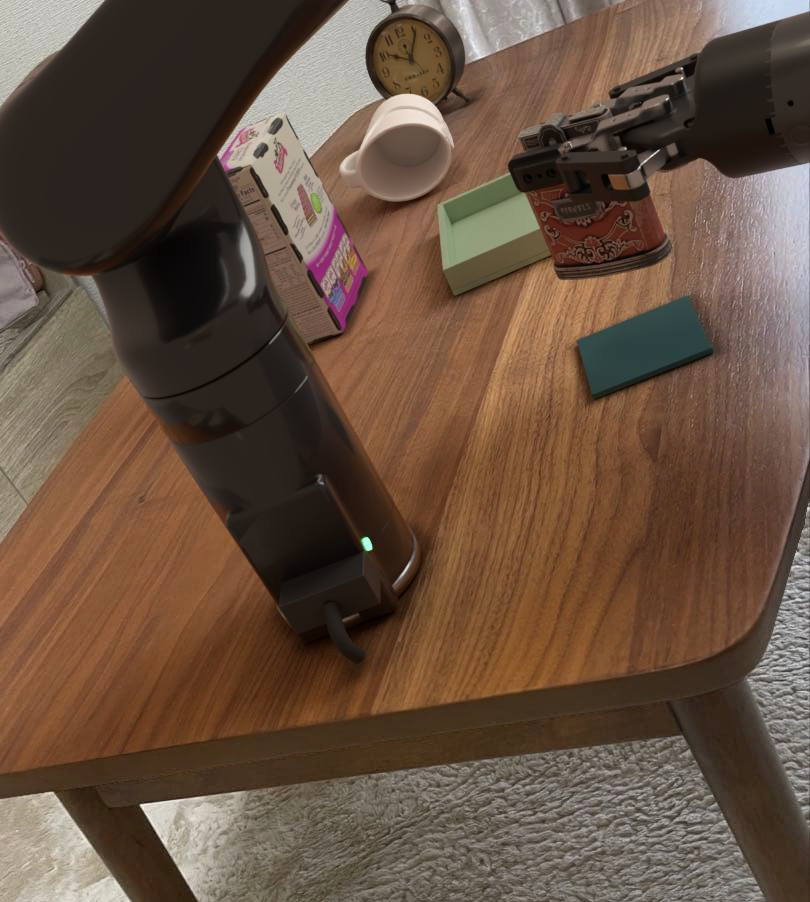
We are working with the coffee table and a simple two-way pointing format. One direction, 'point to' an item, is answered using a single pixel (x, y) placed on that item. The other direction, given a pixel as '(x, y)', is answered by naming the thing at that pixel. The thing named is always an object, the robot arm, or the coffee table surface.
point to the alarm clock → (416, 54)
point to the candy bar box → (296, 227)
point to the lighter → (592, 214)
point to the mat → (643, 347)
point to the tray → (488, 234)
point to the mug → (401, 151)
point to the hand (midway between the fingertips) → (528, 158)
